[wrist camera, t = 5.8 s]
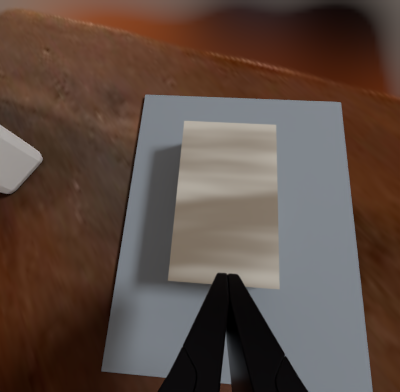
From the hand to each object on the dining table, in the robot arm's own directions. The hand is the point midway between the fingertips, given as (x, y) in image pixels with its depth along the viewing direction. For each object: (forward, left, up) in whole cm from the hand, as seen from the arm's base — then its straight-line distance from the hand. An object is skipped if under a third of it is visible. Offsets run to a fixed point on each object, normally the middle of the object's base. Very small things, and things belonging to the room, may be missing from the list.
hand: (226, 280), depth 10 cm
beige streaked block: (0, 0, -5) cm, 5 cm away
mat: (+4, 0, -7) cm, 8 cm away
